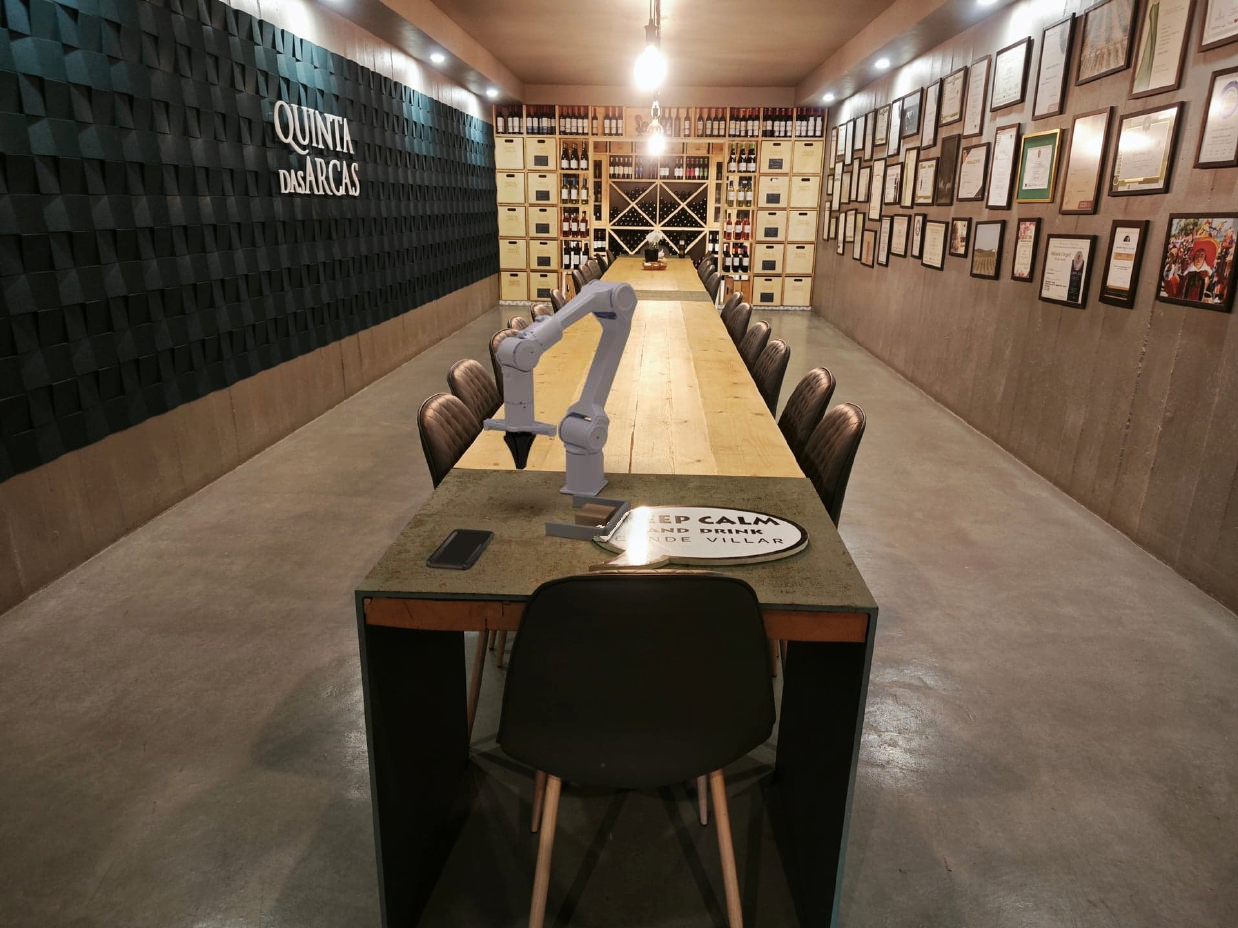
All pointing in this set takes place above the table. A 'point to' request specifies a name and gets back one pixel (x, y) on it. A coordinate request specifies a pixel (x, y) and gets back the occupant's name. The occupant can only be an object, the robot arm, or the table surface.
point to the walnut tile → (594, 515)
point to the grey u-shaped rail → (589, 531)
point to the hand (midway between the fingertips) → (521, 468)
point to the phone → (460, 549)
